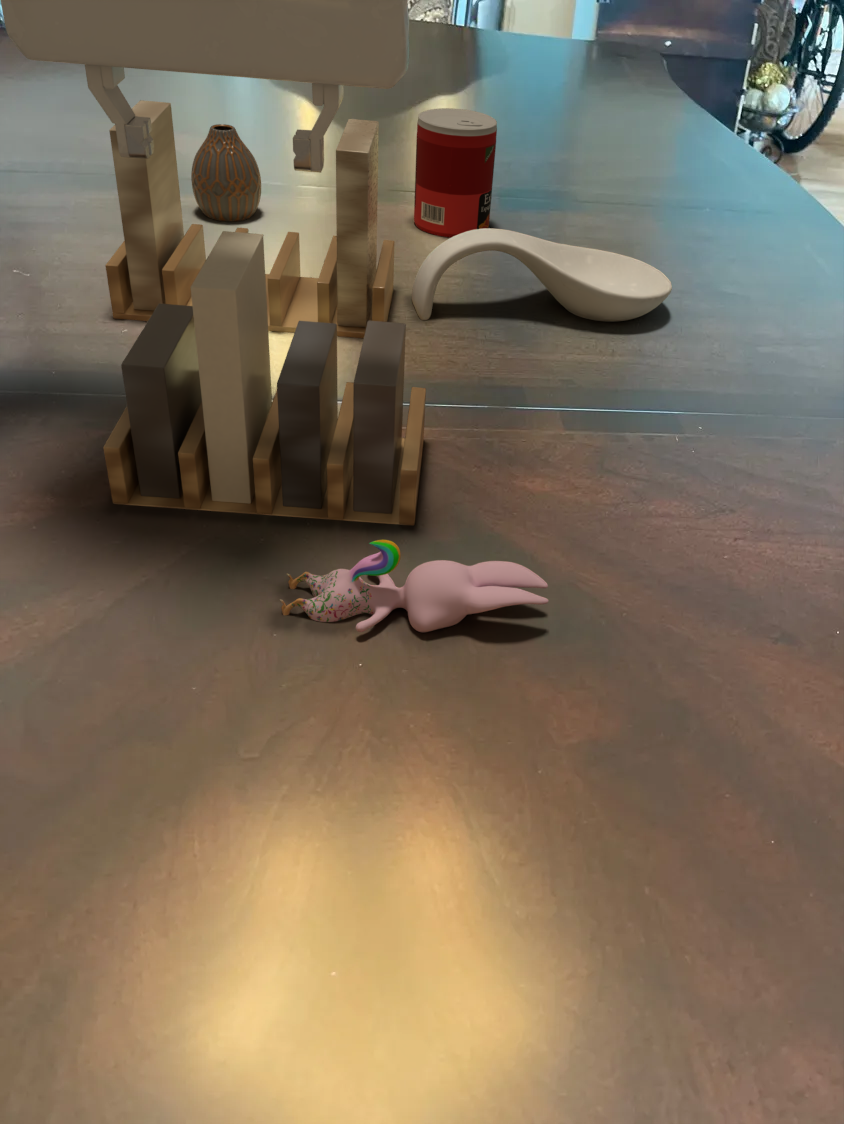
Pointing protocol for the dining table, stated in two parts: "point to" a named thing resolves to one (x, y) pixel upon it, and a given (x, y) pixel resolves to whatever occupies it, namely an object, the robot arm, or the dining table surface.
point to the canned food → (454, 170)
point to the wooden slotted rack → (176, 259)
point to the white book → (233, 360)
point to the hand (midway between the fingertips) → (223, 162)
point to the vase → (225, 176)
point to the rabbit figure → (416, 590)
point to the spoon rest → (555, 274)
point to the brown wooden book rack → (273, 428)
